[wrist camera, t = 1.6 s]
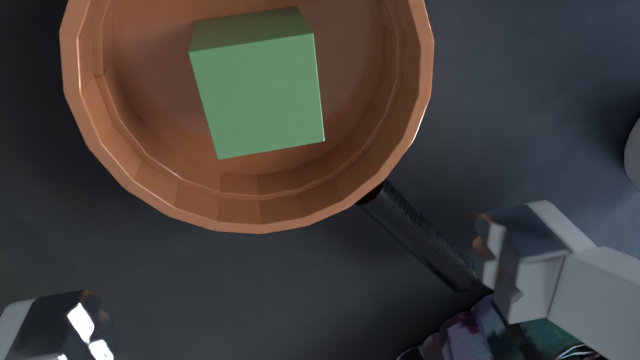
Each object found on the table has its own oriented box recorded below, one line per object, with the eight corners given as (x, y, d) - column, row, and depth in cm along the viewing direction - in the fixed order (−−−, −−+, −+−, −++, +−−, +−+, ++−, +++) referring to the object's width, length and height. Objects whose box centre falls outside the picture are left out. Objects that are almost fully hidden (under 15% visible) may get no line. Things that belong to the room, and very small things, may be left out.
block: (219, 114, 22) (217, 160, 18) (195, 20, 19) (187, 52, 15) (309, 99, 22) (325, 141, 18) (297, 5, 19) (313, 32, 16)
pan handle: (348, 189, 23) (357, 212, 21) (377, 165, 23) (389, 187, 21) (443, 275, 28) (456, 299, 26) (469, 258, 28) (483, 281, 26)
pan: (23, 54, 19) (-25, 94, 15) (253, -221, 15) (260, -256, 12) (256, 223, 26) (261, 277, 23) (450, 62, 23) (492, 95, 19)
